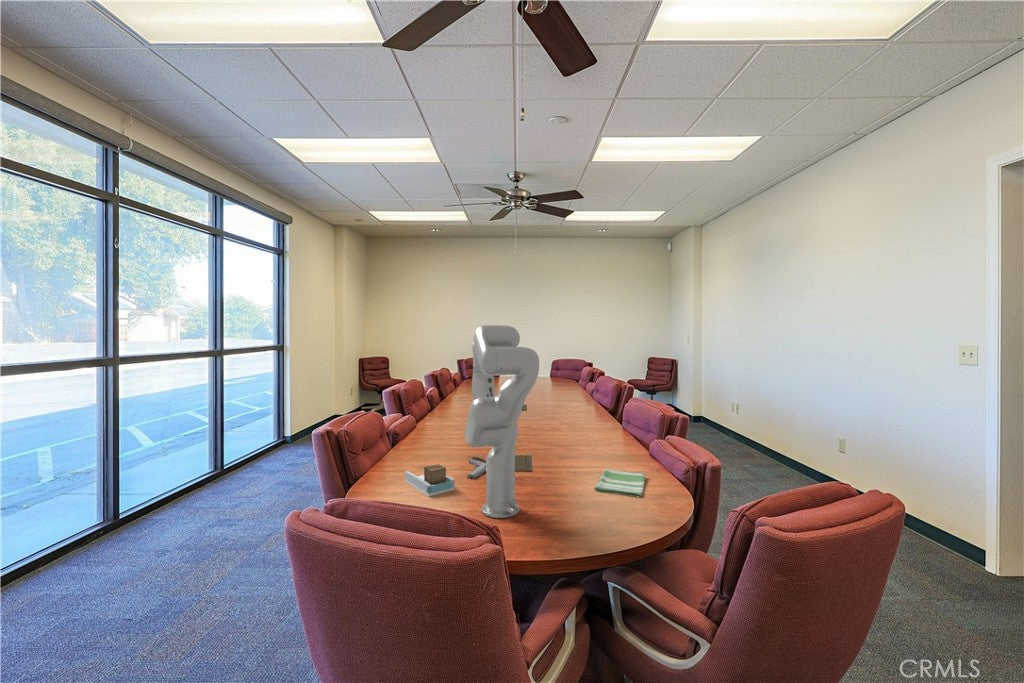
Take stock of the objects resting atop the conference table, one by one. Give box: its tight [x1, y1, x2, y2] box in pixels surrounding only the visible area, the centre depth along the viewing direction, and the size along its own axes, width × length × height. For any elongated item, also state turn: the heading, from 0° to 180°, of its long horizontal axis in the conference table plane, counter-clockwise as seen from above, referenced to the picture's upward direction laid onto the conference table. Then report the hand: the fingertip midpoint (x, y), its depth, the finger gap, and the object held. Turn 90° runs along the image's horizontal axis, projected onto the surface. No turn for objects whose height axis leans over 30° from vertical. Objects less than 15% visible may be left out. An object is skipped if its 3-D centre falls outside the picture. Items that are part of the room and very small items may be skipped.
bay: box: [404, 470, 456, 497], centre depth 170 cm, size 20×11×4 cm, turn 38°
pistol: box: [466, 455, 487, 480], centre depth 191 cm, size 23×3×14 cm
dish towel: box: [593, 468, 646, 498], centre depth 173 cm, size 18×23×3 cm
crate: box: [423, 463, 447, 485], centre depth 167 cm, size 6×6×7 cm
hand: (482, 416), depth 172 cm, fingers closed
